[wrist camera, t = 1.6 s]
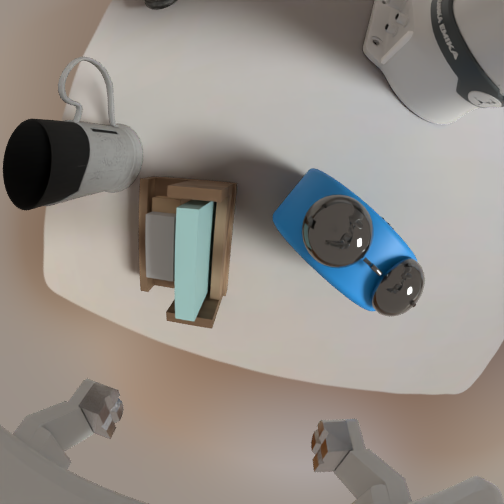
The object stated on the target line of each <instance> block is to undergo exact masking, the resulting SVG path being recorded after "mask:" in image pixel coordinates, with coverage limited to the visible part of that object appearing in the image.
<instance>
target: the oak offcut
mask: <svg viewBox="0 0 504 504" xmlns="http://www.w3.org/2000/svg"><path fill="white" fill-rule="evenodd" d="M179 206H181V198H169V197H167V196H156V197H153V198H152V211H153V212H163V213H174V214H176V210H177V207H179Z"/></svg>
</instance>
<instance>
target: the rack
mask: <svg viewBox="0 0 504 504" xmlns="http://www.w3.org/2000/svg"><path fill="white" fill-rule="evenodd" d="M236 191H237V183H231V182H221V181H210V180H198V179H185V178H169V177H147V178H141V179H140V190H139V268H140V287H141V291H146V292H149V290H150V289H151V288H152V287H153V286H154V285H158V286H164V287H170V288H175V280H174V281H166V280H160V279H154V278H148V277H146V245H145V227H146V214H147V213H149V212H152V198H153V197H156V196H167V197H169V198H181V205H182V204H184V203H186V202H188V201H190V200H192V199H193V200H203V201H213V202H217V206H216V218H215V230H214V244H213V258H212V273H211V286H210V288H209V290H208V292H207V294H206V297H205V299H204V301H203V303H202V306H201V308H200V310H199V312H198V314H197V317H196V319H195V321H188V320H182V319H176V318H175V299H174V301H173V303H172V304H171V306H170V307H169V309H168V310H167V312H166V316H167V321H172V322H177V323H182V324H188V325H194V326H200V327H206V328H212V327H213V324H214V321H215V318H216V315H217V312H218V309H219V306H220V303H221V300H222V297H223V296H225V295H226V292H227V286H228V274H229V263H230V252H231V241H232V231H233V220H234V210H235V200H236Z"/></svg>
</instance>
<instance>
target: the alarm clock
mask: <svg viewBox="0 0 504 504" xmlns="http://www.w3.org/2000/svg"><path fill="white" fill-rule="evenodd" d="M273 222H274V224H275V226H276V228H277V229H278V231H279V232H280V233H281V235H282V236H283V237H284V238H285V240H286V241H287V242H288V243H289V244H290V245H291V246H292V247H293V248H294V249H295V251H296V252H297V253H298V254H299V255H300V256H301V257H302V258H303V259H304V260H305V261H306V262H307V263H308V264H309V265H310V266H311V267H312V268H314V269H315V270H316V271H317V272H318V273H319V274H320V275H321V276H322V277H323V278H324V279H326V280H327V281H328V282H329V283H330V284H331V285H332V286H334V287H335V288H336V289H337V290H338V291H340V292H341V293H342V294H343V295H345V296H346V297H347V298H349V299H350V300H351V301H353V302H354V303H355V304H357V305H358V306H360V307H362V308H364V309H366V310H368V311H377V312H378V313H379V314H382V315H384V316H389V317H390V316H398V315H401V314H403V313H405V312H407V311H408V310H409V309H411V308H412V307H415V306H416V303H417V301H418V300H419V298H420V296H421V294H422V292H423V289H424V283H425V277H424V272H423V270H422V267H421V266H420V265H419V263H418V262H417V259H416V257H415V255H414V254H413V252H412V251H411V249H410V248H409V247H408V245H407V244H406V243H405V242H404V241H403V239H402V238H401V237H400V236H399V235H398V234H397V233H396V232H395V231H394V230H393V228H392V227H391V226H390V224H389V223H387V222H386V221H385V220H384V218H381V217H380V216H379V215H378V214H377V213H376V212H375V211H374V210H373V209H372V208H371V207H370V206H368V205H367V204H366V203H365V202H364V201H363V200H361V199H360V198H359V197H358V196H357V195H355V194H354V193H353V192H352V191H350V190H349V189H348V188H346V187H345V186H344V185H342V184H341V183H340V182H338V181H337V180H335V179H334V178H332V177H331V176H329V175H327V174H326V173H324V172H322V171H320V170H318V169H314V168H313V169H310V170H309V171H308V172H307V173H306V174H305V175H304V177H303V178H302V179H301V180H300V182H299V183H298V184H297V185H296V186H295V188H294V189H293V190H292V191H291V193H290V194H289V195H288V196H287V197H286V199H285V200H284V201H283V202H282V204H281V205H280V206H279V207H278V208H277V210H276V211H275V212H274V214H273Z"/></svg>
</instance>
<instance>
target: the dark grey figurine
mask: <svg viewBox="0 0 504 504" xmlns="http://www.w3.org/2000/svg"><path fill="white" fill-rule="evenodd" d="M176 1H177V0H145V4H146V6H147V7H149V8H151V9H162V8H165V7H168V6H170V5H172V4H173V3H175V2H176Z"/></svg>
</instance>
